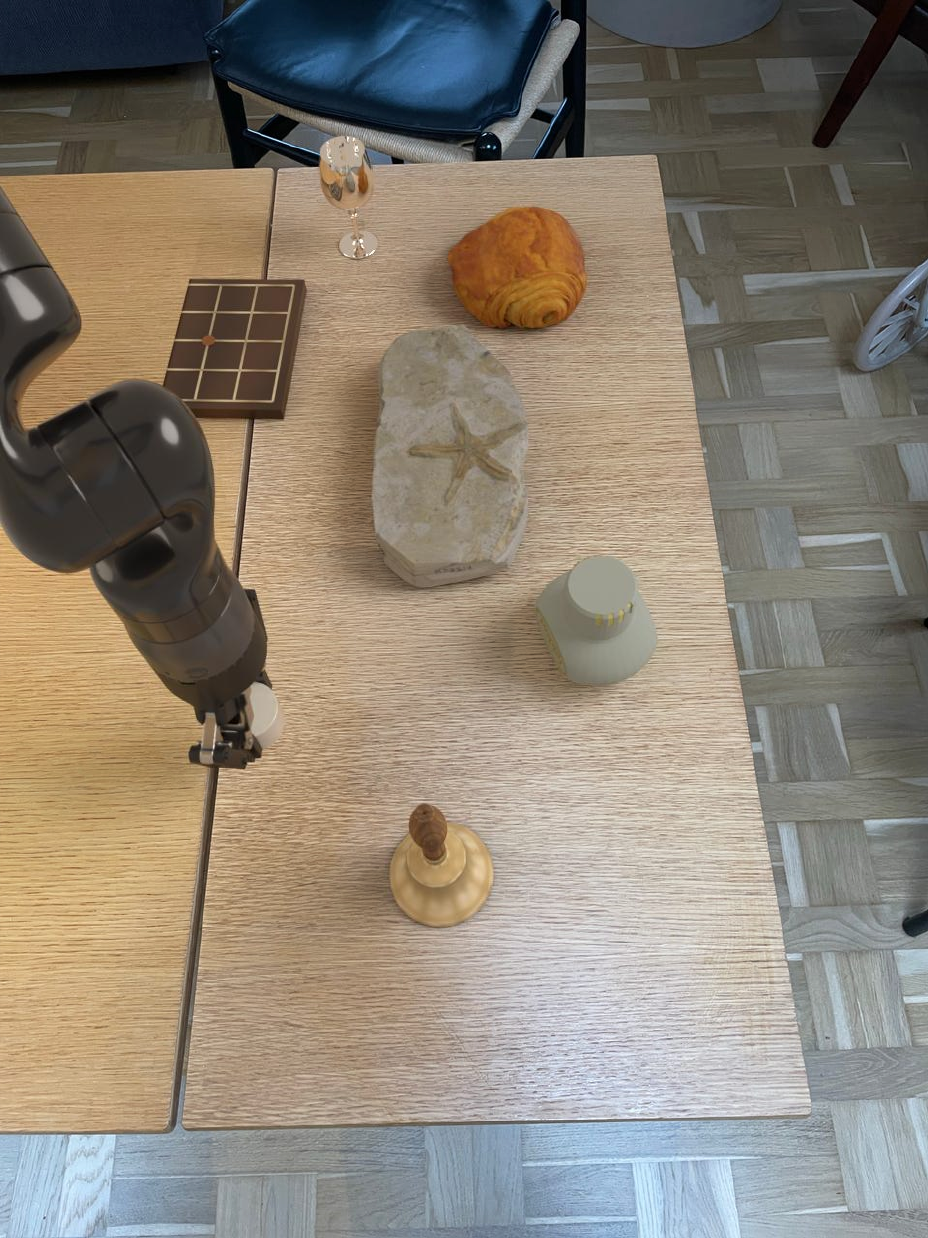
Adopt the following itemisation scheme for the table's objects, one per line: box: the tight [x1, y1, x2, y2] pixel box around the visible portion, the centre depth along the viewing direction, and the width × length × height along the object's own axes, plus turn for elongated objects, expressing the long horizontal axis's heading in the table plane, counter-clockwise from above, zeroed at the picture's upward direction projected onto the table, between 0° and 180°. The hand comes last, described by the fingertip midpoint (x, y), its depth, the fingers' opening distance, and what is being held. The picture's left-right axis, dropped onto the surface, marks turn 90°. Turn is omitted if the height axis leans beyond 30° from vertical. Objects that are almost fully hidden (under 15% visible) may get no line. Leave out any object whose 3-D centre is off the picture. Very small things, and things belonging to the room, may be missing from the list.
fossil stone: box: [370, 323, 530, 589], centre depth 94 cm, size 28×15×5 cm, turn 0°
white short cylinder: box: [230, 682, 286, 751], centre depth 77 cm, size 5×5×3 cm
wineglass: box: [318, 135, 379, 260], centre depth 105 cm, size 6×6×12 cm
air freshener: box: [533, 554, 659, 687], centre depth 82 cm, size 11×8×10 cm
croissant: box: [446, 205, 588, 330], centre depth 104 cm, size 14×16×8 cm
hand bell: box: [388, 802, 495, 928], centre depth 71 cm, size 8×8×16 cm
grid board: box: [162, 278, 308, 420], centre depth 104 cm, size 18×18×2 cm
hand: (254, 721), depth 78 cm, fingers closed on white short cylinder, 4 cm apart
